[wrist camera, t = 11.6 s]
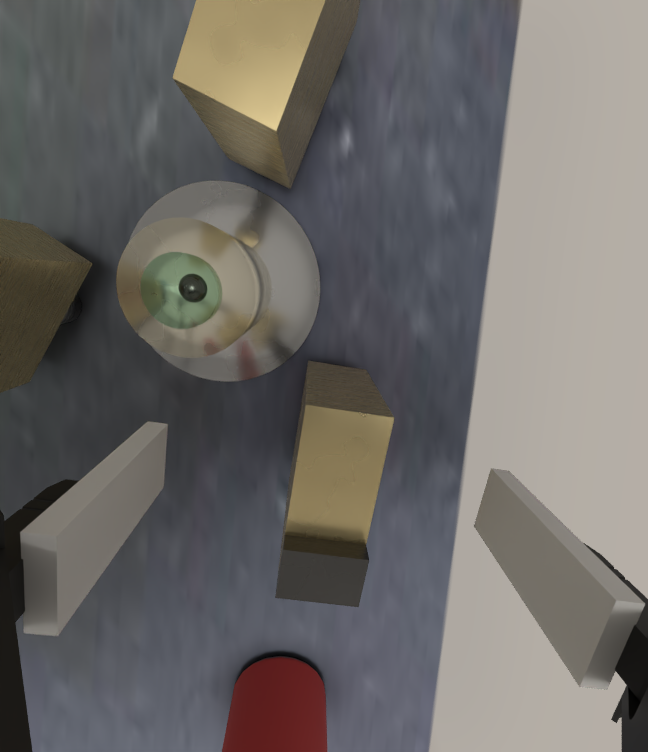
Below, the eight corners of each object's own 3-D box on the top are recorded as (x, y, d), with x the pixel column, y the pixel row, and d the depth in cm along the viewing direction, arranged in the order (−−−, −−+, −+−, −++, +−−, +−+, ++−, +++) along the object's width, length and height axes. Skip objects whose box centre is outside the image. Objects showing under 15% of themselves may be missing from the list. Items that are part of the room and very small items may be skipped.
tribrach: (39, 313, 21) (-131, 334, 13) (124, 1, 17) (-35, -233, 9) (332, 433, 23) (343, 515, 15) (457, 177, 20) (556, 108, 12)
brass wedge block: (308, 360, 19) (305, 413, 12) (365, 369, 20) (399, 426, 12) (288, 483, 21) (275, 597, 13) (342, 490, 21) (358, 606, 14)
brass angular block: (290, 189, 17) (273, 119, 10) (228, 158, 17) (161, 61, 9) (356, 22, 16) (396, -212, 8) (290, -16, 15) (268, -298, 8)
